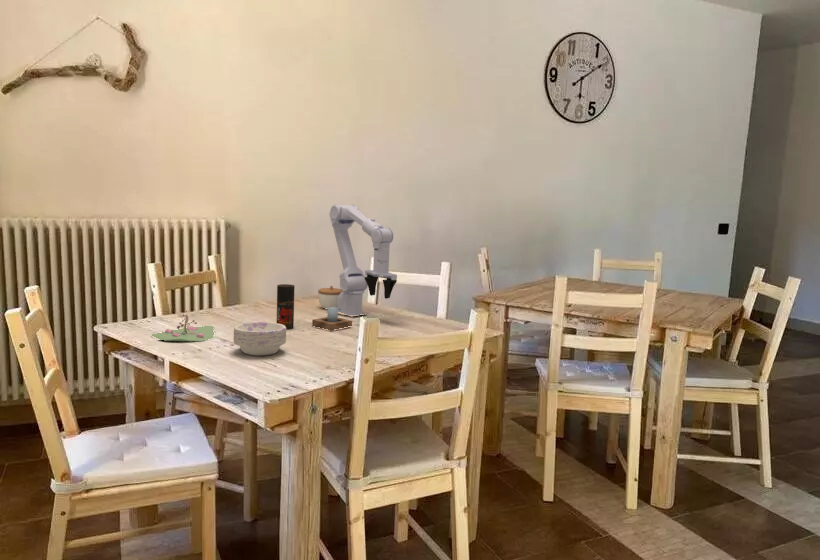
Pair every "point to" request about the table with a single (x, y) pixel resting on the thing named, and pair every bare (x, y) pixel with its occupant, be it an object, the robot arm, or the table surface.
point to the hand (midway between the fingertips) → (379, 296)
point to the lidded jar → (329, 297)
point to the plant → (187, 333)
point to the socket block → (331, 323)
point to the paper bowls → (259, 337)
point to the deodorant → (285, 305)
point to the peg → (332, 314)
